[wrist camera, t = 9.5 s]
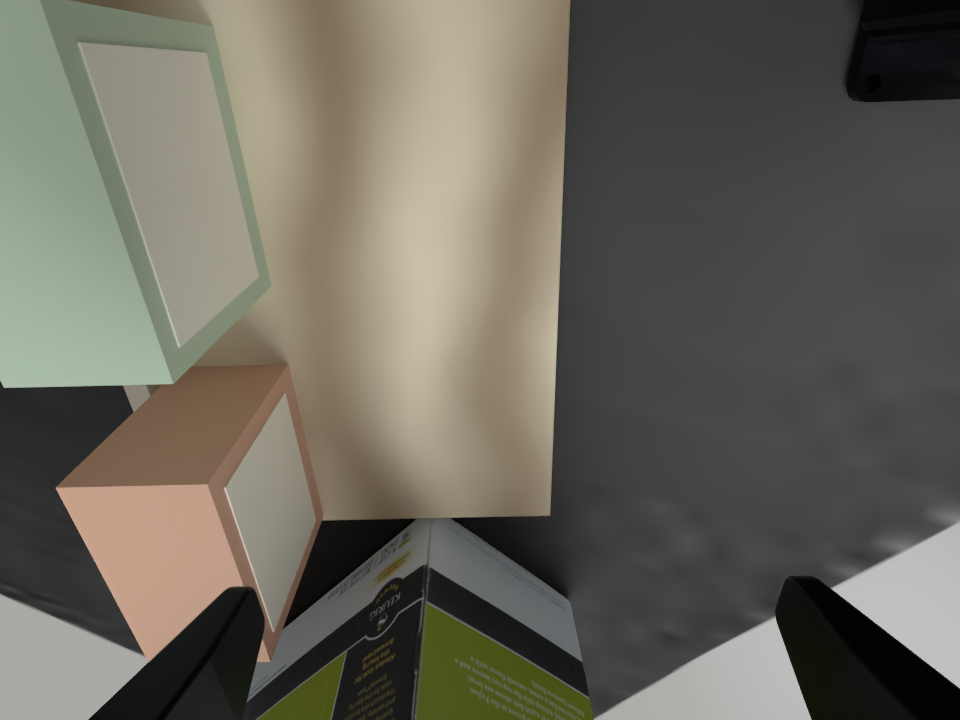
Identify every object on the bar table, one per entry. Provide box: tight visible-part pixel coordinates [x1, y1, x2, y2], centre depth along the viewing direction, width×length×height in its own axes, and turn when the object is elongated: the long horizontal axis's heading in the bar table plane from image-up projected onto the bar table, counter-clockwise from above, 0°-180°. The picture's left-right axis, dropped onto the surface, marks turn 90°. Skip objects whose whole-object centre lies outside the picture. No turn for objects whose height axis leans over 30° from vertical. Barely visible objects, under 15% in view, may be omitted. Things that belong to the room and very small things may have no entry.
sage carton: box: [0, 0, 272, 388], centre depth 13 cm, size 4×8×6 cm, turn 2°
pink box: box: [56, 364, 323, 662], centre depth 18 cm, size 4×8×6 cm, turn 2°
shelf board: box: [70, 0, 570, 520], centre depth 19 cm, size 15×19×3 cm
